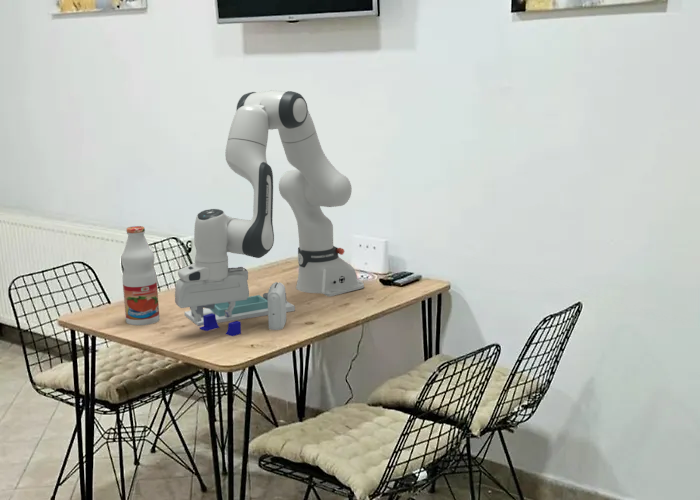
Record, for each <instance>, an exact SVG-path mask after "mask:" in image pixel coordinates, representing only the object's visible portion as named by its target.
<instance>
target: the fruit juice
mask: <svg viewBox="0 0 700 500" xmlns="http://www.w3.org/2000/svg"><path fill="white" fill-rule="evenodd" d="M145 231H146V230H145V226H141V225H133V226H128V227H127V228H126V234H127V240H126V243H125V246H124V250H123V252H122V254H121V259H120V261H121V264H122V267H123V272H122V279H121V280H122V290H123V291H122V292H123V303H124V314H125V322H126V324H128V325H132V326H146V325H147V326H148V325H151V324H154V323H155V324H156V323H157V322H159V321H160V305H159V295H158V294H159V293H158V277H157V273H156V269H155V267H154V264H155V254H154V252H153V250H152V249H151V248H150V245H149V243H148V241H147V239H146V237H145Z"/></svg>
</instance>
